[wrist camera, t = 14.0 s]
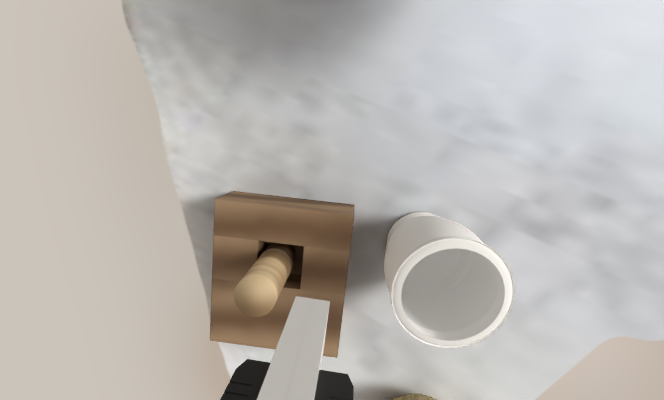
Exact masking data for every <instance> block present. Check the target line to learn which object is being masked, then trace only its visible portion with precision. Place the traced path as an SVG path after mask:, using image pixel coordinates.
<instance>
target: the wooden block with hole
mask: <svg viewBox="0 0 664 400" xmlns="http://www.w3.org/2000/svg"><path fill="white" fill-rule="evenodd" d="M353 221H354V205H351V204H342V203H333V202H324V201H315V200H307V199H298V198H289V197H280V196H272V195H263V194H254V193H245V192H236V191H233V192H231V193H228V194H226V195H224V196H222V197H219V198H217V199H215V211H214V239H213V267H212V295H211V323H210V340H212V341H218V342H226V343H233V344H241V345H248V346H255V347H263V348H270V349H276V347H277V345H278V342H279V340H280V337H281V334H282V332H283V329H284V326H285V324H286V321H287V318H288V316H289V313H290V310H291V308H292V305H293V302H294V300H295V297H296V296H298V297H305V298H312V299H318V300H325V301H330V305H329V312H328V320H327V328H326V336H325V343H324V351H323V356H329V357H336V358H337V355H338V347H339V339H340V330H341V322H342V313H343V305H344V296H345V288H346V280H347V271H348V263H349V254H350V246H351V237H352V229H353ZM272 243H281V244H290V245H292V246H293V248H294V250H295V263H294V266H293V268H292V271H291V273H290V275H289V276H288V278H287V280H286V282H285V284H284V286H283V289H282V291H281V293H280V295H279V297H278V299H277V301H276V303H275V305H274V307H273V309H272V310H271V311H270V312H269V313H268V314H266V315H264V316H260V317H253V316H249V315H246V314H245V313H243V312H242V311H241V310H240V309H239V308H238V307H237V305H236V303H235V301H234V290H235V288H236V286H237V284H238V283H239V282H240V281H241V279H242V278H243V277H244V276H245V274H246V273H247V272H248V271H249V270H250V268H251V267H252V266H253V265H254V263H255V262H256V261H257V260H258V258H259V256H260V255H261V254H262V253H263V252H264V251H265V250H266V248H267V247H268V246H269V245H271V244H272Z"/></svg>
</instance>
